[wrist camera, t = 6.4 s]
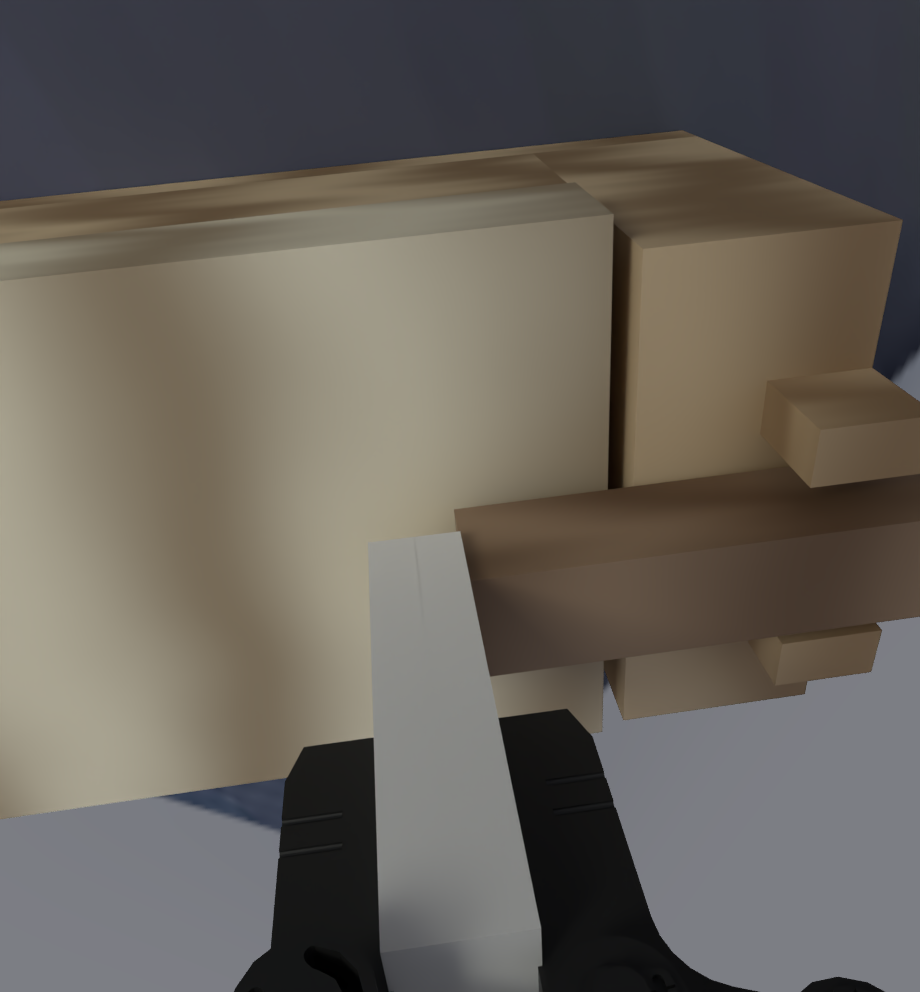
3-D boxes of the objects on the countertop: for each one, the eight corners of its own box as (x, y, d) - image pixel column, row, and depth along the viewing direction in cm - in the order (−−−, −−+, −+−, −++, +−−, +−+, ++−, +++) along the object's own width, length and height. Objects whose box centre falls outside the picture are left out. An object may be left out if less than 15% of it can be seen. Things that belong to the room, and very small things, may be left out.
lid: (-52, 708, 20) (-125, 837, 17) (-314, 261, 14) (-497, 335, 11) (565, 624, 21) (601, 731, 18) (559, 169, 15) (613, 213, 12)
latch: (462, 600, 15) (477, 678, 13) (454, 509, 14) (468, 581, 12) (985, 530, 15) (1062, 596, 14) (1014, 437, 14) (1103, 496, 13)
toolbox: (15, 555, 25) (-203, 917, 15) (-141, 216, 19) (-633, 436, 10) (661, 472, 26) (848, 760, 16) (682, 130, 20) (981, 251, 11)
